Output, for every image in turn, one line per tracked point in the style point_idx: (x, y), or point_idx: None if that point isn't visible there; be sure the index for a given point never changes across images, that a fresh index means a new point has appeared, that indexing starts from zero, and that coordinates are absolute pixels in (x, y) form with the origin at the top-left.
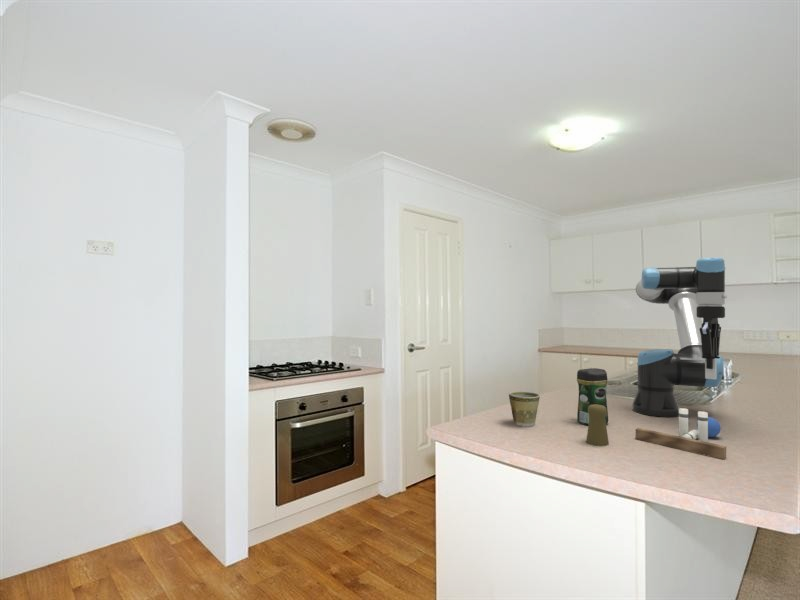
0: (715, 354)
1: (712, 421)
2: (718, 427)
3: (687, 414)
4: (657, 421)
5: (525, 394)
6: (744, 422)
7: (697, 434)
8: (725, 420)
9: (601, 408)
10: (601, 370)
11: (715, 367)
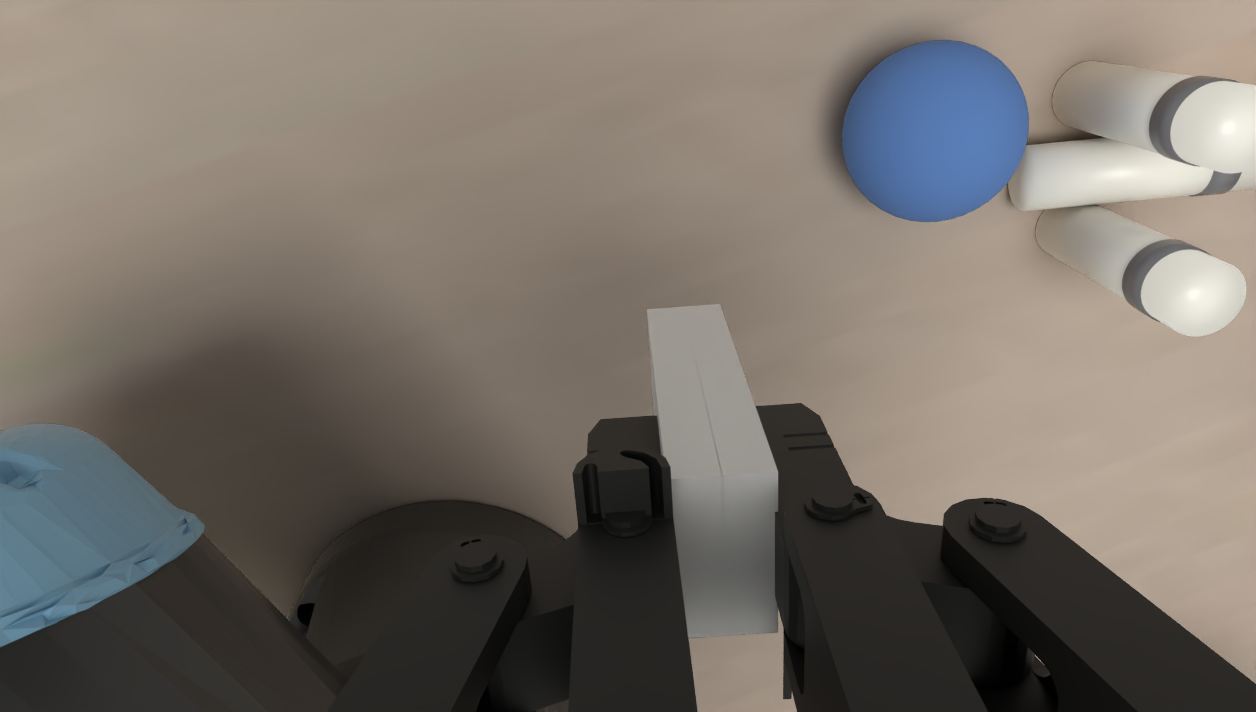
0: (674, 560)
1: (1006, 95)
2: (975, 46)
3: (1198, 248)
4: None
5: None
6: (131, 113)
7: (1092, 143)
8: (219, 238)
9: None
10: None
11: (721, 386)
